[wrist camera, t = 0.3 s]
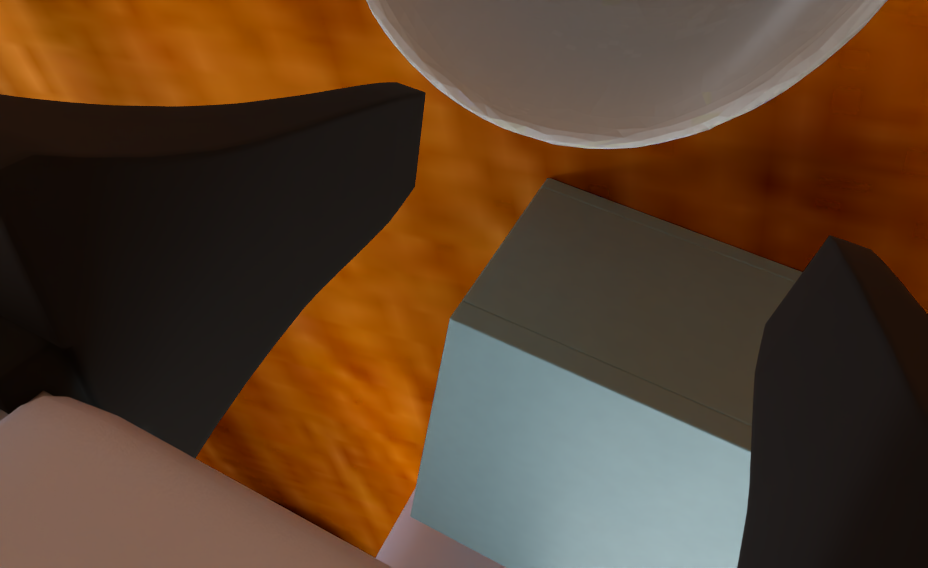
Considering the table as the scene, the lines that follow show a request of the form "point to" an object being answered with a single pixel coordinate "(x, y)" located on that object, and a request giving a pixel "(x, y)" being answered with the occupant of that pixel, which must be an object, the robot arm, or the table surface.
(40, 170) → the robot arm
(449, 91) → the teacup
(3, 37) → the table surface
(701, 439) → the cabinet
